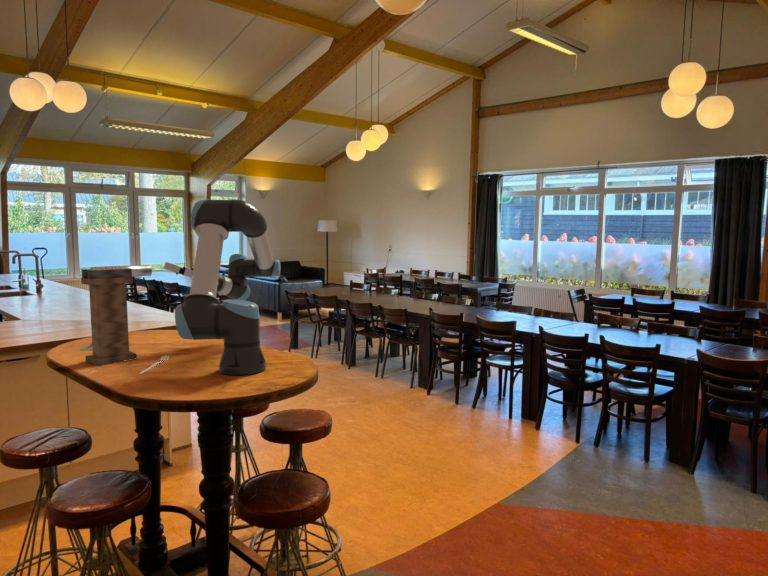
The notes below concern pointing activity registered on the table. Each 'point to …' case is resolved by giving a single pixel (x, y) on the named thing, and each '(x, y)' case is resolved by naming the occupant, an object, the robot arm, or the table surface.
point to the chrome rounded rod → (136, 269)
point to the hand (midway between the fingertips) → (174, 268)
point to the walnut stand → (108, 315)
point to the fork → (154, 364)
